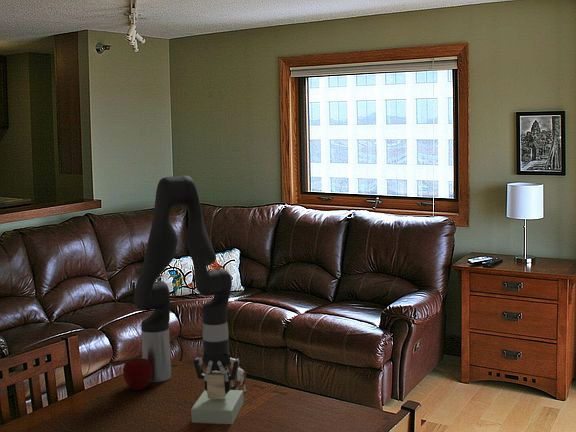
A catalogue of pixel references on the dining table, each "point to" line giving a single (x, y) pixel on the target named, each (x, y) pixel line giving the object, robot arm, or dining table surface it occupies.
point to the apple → (138, 373)
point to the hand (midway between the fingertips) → (217, 392)
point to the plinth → (217, 408)
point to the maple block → (216, 385)
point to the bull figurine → (238, 377)
